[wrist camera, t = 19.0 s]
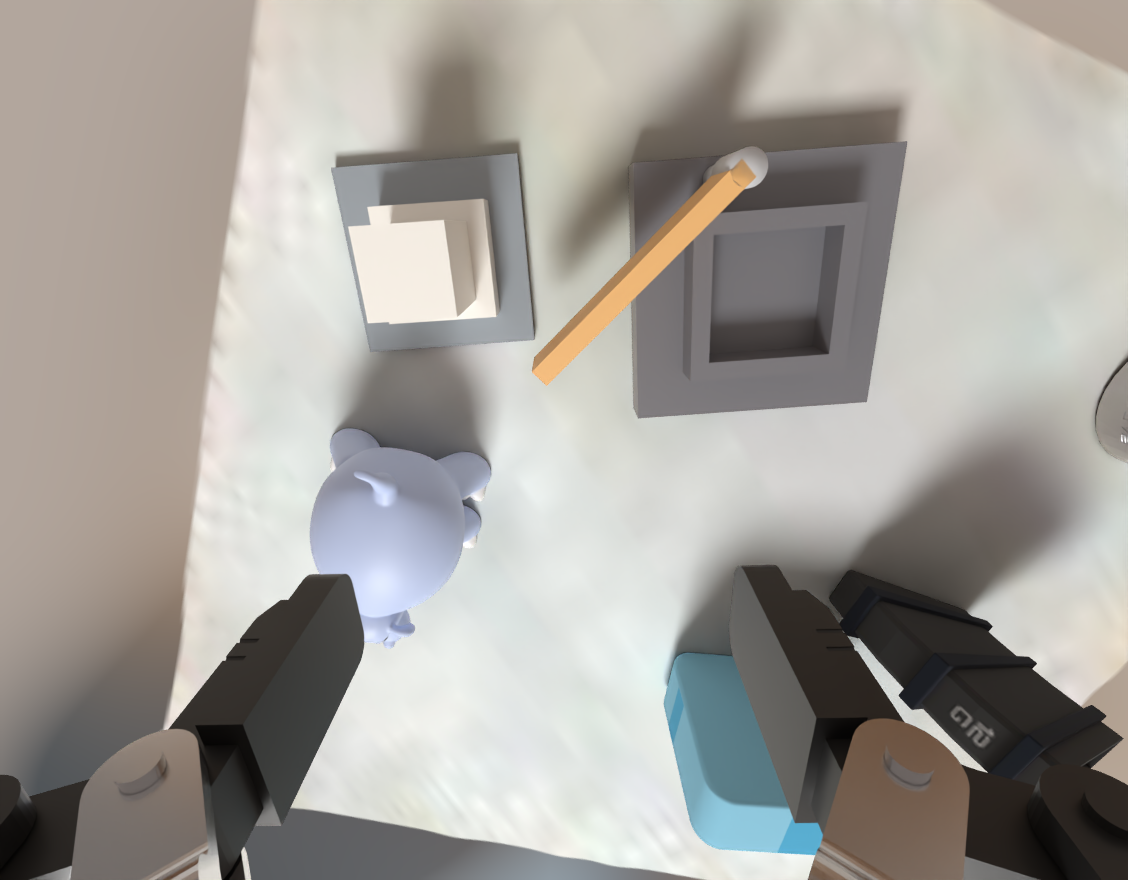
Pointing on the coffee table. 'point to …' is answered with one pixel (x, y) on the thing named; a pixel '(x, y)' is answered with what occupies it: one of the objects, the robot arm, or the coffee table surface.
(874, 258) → the socket block
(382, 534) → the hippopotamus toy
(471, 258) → the plug
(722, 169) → the orange rod with knob
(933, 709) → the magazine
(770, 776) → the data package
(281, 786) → the robot arm
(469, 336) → the mat
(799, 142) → the coffee table surface
